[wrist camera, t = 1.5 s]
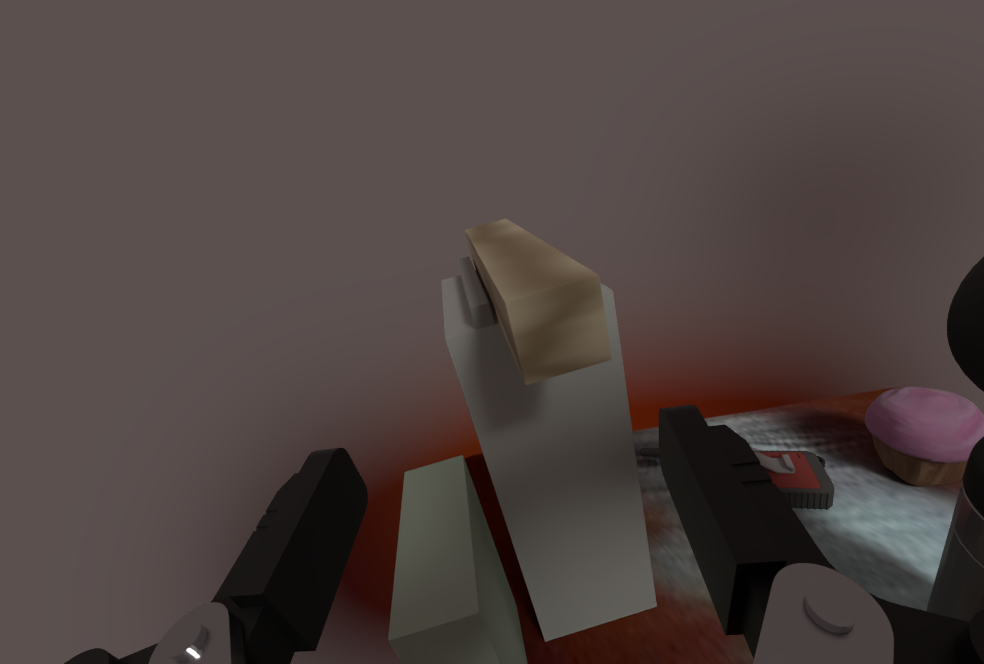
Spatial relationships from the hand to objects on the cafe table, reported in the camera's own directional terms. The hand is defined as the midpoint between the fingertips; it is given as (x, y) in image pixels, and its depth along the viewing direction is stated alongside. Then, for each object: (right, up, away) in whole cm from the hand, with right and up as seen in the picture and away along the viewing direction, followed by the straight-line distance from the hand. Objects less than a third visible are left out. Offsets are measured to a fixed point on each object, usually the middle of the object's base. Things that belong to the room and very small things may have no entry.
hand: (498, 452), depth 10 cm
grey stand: (+9, -22, +34) cm, 41 cm away
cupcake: (+46, -12, +33) cm, 58 cm away
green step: (+1, -28, +25) cm, 37 cm away
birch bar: (+2, +5, +18) cm, 19 cm away
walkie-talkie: (+29, -15, +38) cm, 50 cm away
